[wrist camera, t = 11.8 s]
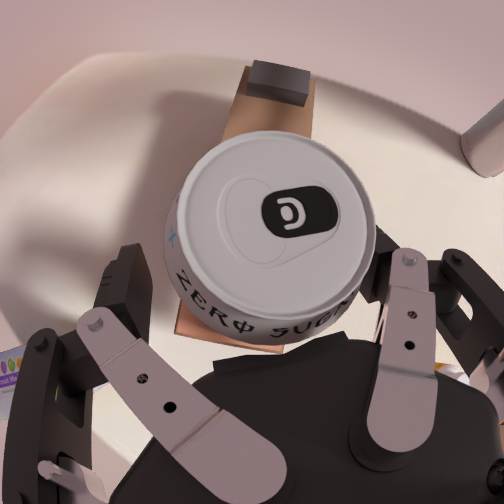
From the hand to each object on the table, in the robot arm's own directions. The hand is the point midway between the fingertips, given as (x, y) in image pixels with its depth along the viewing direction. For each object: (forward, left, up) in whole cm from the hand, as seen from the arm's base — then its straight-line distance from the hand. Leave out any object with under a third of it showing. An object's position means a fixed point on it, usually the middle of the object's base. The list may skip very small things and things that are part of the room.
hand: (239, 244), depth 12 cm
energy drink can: (-1, +1, -10) cm, 10 cm away
